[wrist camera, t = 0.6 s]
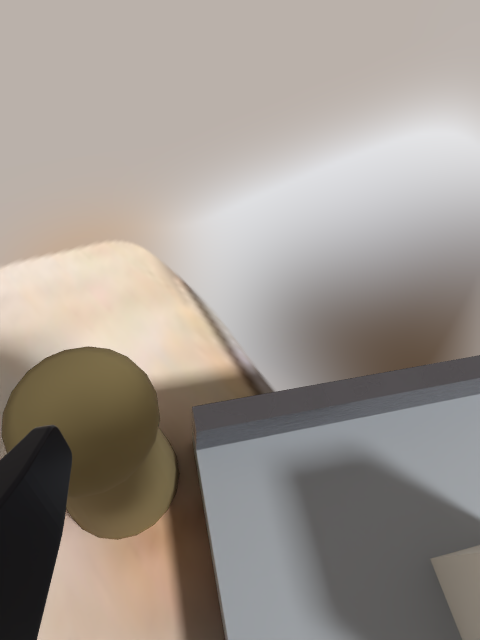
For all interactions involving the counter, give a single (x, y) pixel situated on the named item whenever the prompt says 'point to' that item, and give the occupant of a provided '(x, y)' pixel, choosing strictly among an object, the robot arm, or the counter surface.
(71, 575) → the counter surface
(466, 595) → the tea box
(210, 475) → the shelf
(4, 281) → the counter surface
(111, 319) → the counter surface
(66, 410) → the olive pawn
